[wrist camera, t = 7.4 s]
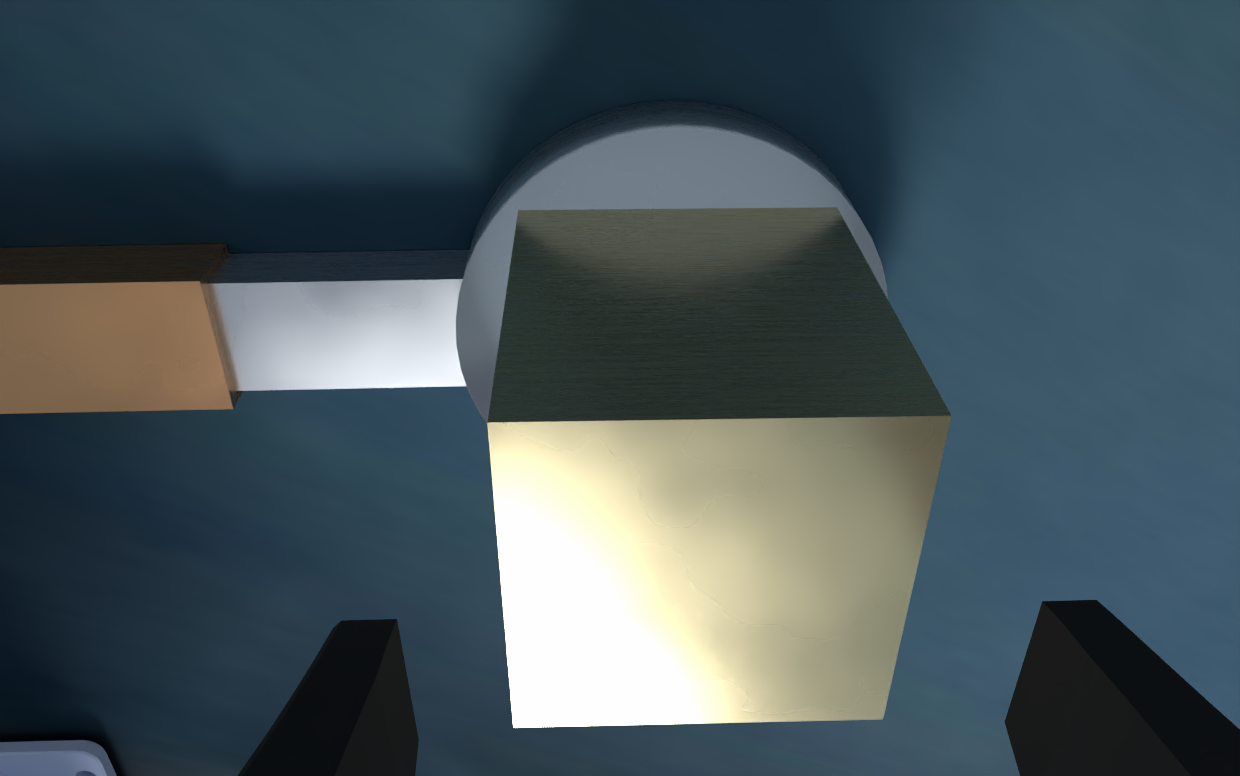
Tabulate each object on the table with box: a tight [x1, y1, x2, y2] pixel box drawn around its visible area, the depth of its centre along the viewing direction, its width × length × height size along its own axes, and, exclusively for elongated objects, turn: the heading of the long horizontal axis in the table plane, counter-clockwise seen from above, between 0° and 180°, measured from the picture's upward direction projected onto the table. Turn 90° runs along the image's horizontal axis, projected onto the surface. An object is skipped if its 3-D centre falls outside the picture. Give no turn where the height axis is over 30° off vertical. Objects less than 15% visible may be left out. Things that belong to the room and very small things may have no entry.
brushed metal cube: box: [487, 207, 951, 728], centre depth 15 cm, size 5×5×6 cm
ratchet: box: [0, 100, 888, 425], centre depth 17 cm, size 18×8×5 cm, turn 90°
